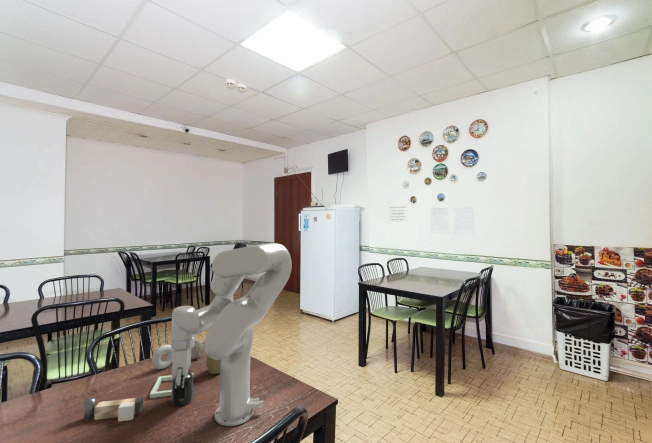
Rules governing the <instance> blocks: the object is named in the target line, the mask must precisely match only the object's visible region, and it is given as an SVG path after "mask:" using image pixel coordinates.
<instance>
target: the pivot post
mask: <svg viewBox="0 0 652 443" xmlns="http://www.w3.org/2000/svg"><path fill="white" fill-rule="evenodd" d="M95 406H96V397H95V396H89V397H86V398H84V400H83V418H82V419H83V421H84V422H89V421H92V420H94V409H95Z"/></svg>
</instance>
